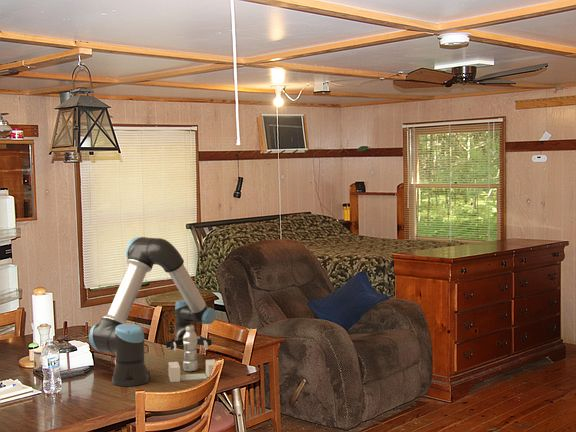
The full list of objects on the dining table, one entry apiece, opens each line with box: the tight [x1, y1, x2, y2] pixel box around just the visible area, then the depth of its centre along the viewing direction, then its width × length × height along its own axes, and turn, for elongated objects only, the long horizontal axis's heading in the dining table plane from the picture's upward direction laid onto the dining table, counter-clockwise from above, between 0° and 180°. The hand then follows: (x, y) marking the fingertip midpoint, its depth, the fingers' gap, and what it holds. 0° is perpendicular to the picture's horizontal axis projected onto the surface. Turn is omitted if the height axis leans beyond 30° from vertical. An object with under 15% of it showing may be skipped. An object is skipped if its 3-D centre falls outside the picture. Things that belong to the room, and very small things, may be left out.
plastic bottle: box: [182, 324, 199, 372], centre depth 339 cm, size 6×7×20 cm
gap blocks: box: [167, 358, 216, 383], centre depth 329 cm, size 10×20×6 cm, turn 104°
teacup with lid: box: [32, 343, 45, 370], centre depth 341 cm, size 12×9×12 cm
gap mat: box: [180, 372, 208, 382], centre depth 329 cm, size 8×11×1 cm
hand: (191, 347), depth 337 cm, fingers open, 13 cm apart
